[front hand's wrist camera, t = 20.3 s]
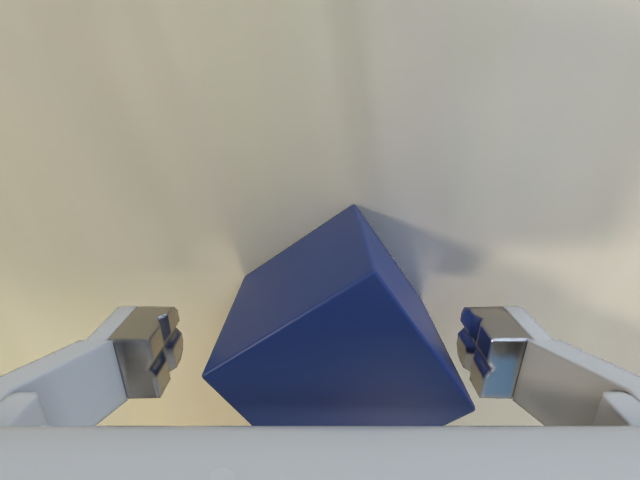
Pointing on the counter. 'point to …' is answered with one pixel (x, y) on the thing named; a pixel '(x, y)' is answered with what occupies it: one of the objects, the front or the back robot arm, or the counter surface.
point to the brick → (334, 339)
